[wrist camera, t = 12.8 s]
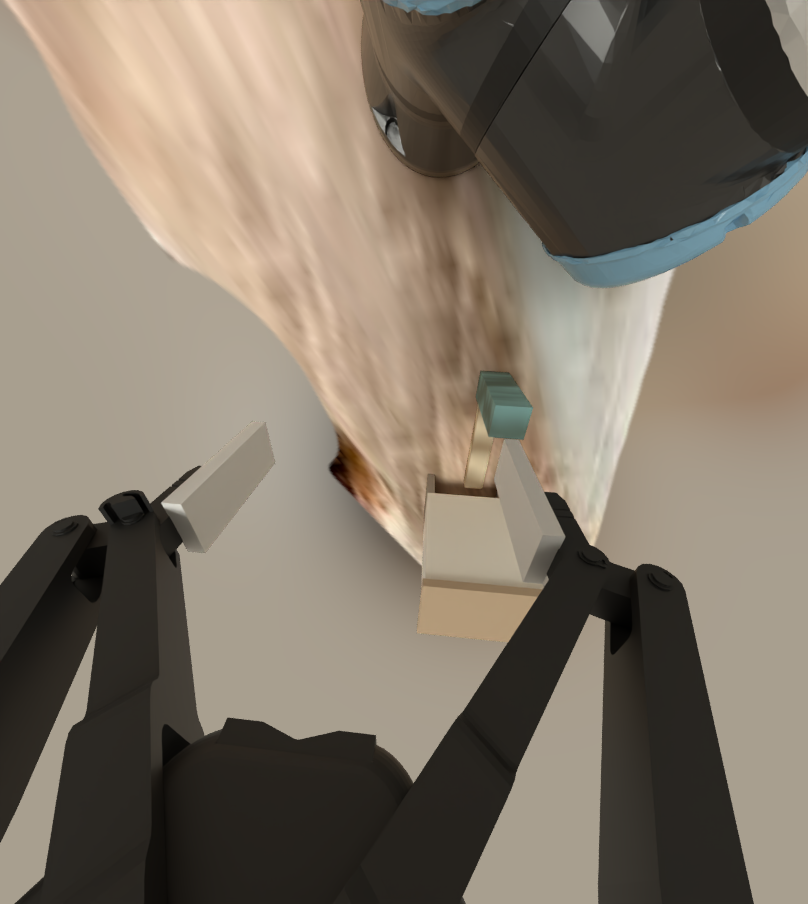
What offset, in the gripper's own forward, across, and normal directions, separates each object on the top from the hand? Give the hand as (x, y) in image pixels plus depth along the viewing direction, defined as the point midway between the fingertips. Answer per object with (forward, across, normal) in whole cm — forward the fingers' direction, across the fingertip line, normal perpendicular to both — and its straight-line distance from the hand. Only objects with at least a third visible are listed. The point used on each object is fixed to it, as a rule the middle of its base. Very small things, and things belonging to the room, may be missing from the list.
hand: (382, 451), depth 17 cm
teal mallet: (+29, +12, -14) cm, 34 cm away
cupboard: (+29, +11, -28) cm, 42 cm away
